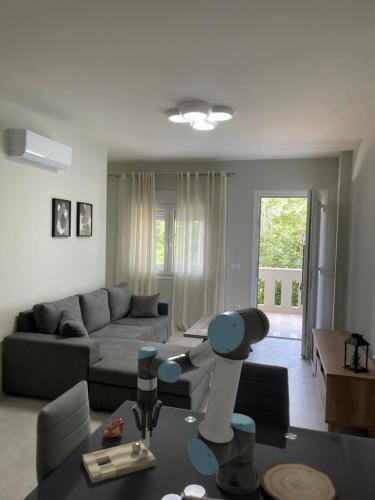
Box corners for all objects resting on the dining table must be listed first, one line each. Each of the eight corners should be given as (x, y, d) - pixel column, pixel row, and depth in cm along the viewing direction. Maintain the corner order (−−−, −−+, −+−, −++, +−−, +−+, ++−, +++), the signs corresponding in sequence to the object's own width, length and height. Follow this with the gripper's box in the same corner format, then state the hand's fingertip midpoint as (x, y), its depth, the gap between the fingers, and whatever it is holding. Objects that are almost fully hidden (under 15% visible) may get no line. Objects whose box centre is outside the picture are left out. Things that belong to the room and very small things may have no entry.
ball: (142, 453, 152) (142, 444, 152) (133, 455, 151) (133, 446, 151) (139, 448, 156) (139, 440, 155) (130, 451, 154) (130, 442, 154)
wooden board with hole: (155, 465, 149) (155, 458, 149) (92, 483, 138) (92, 476, 138) (141, 446, 162) (141, 440, 162) (82, 461, 151) (82, 454, 151)
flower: (131, 429, 172) (122, 413, 174) (126, 435, 163) (116, 418, 165) (113, 441, 172) (104, 425, 174) (107, 448, 163) (97, 431, 165)
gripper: (158, 381, 161) (157, 437, 162) (128, 386, 155) (127, 445, 156) (166, 387, 154) (165, 446, 155) (134, 393, 148) (133, 454, 149)
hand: (146, 445), depth 155 cm, fingers closed
